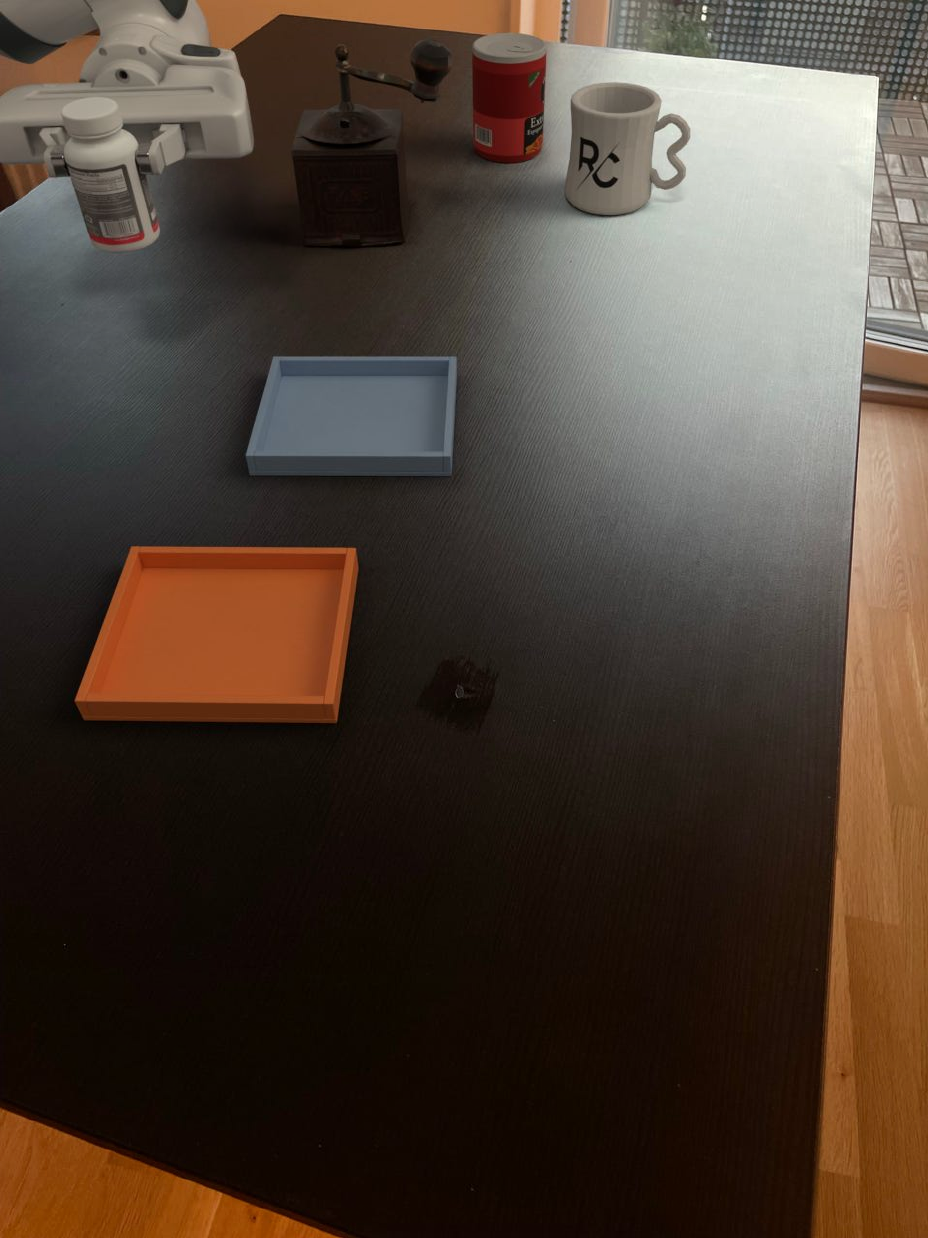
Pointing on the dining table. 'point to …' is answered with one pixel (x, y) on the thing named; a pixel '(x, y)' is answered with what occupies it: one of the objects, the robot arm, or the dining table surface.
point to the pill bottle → (108, 177)
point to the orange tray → (224, 636)
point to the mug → (618, 148)
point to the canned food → (508, 96)
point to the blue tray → (355, 417)
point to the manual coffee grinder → (360, 157)
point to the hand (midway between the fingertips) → (102, 166)
